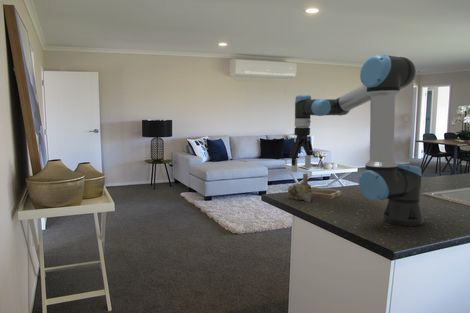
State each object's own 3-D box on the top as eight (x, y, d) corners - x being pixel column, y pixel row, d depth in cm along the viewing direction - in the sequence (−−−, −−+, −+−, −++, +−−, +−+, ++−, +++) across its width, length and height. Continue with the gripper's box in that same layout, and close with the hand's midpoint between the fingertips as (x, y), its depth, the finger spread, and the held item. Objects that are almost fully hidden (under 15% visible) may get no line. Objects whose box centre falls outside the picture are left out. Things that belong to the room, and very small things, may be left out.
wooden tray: (330, 199, 189) (331, 177, 187) (300, 194, 199) (300, 174, 198) (341, 194, 199) (342, 174, 197) (312, 190, 209) (312, 170, 208)
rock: (317, 197, 187) (311, 178, 187) (311, 202, 182) (304, 182, 182) (298, 201, 195) (291, 183, 195) (291, 205, 191) (284, 186, 190)
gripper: (296, 128, 173) (295, 174, 176) (320, 126, 192) (319, 167, 195) (282, 128, 177) (281, 172, 180) (307, 125, 197) (306, 165, 200)
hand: (301, 170), depth 188 cm, fingers open, 13 cm apart
